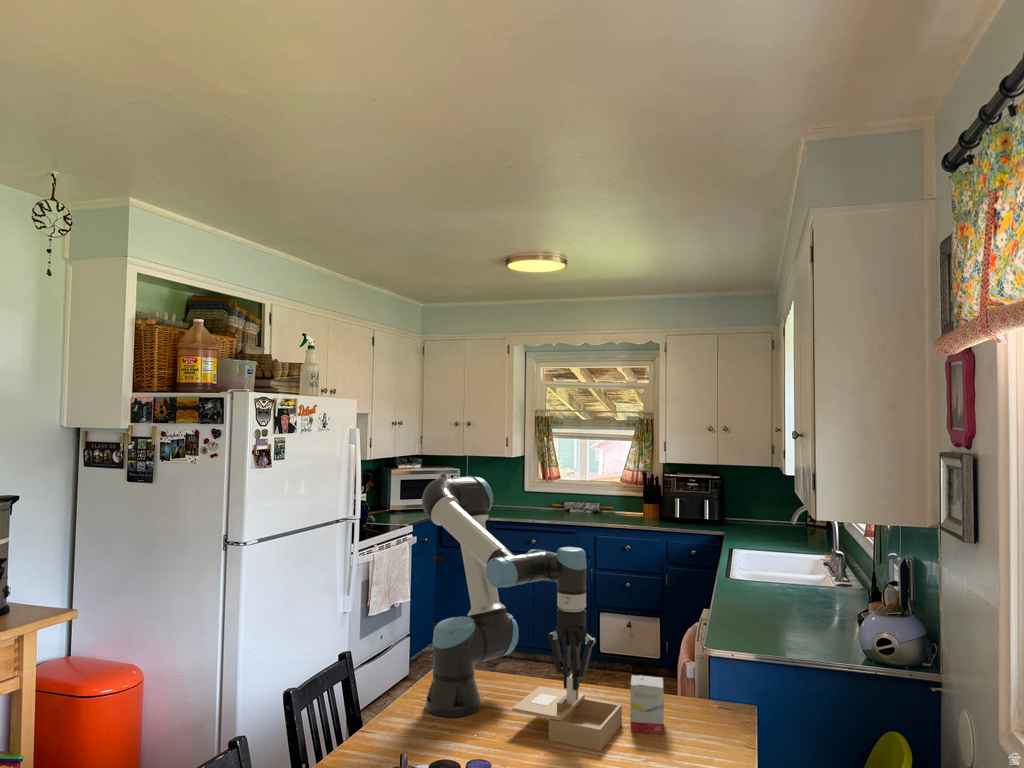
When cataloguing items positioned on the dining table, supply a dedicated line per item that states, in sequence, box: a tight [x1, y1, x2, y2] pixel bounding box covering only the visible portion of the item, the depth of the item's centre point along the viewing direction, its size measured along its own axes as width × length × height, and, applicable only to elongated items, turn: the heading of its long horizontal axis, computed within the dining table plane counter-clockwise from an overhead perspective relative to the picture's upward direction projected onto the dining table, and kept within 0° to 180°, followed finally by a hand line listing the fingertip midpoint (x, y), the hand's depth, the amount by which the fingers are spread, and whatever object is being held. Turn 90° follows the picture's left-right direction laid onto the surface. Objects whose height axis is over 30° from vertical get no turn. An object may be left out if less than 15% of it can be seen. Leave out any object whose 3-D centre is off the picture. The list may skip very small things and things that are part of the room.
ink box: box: [630, 674, 665, 735], centre depth 182 cm, size 9×9×12 cm
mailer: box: [548, 697, 623, 752], centre depth 178 cm, size 13×17×5 cm
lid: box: [511, 685, 586, 721], centre depth 183 cm, size 13×17×3 cm
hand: (571, 701), depth 179 cm, fingers closed
